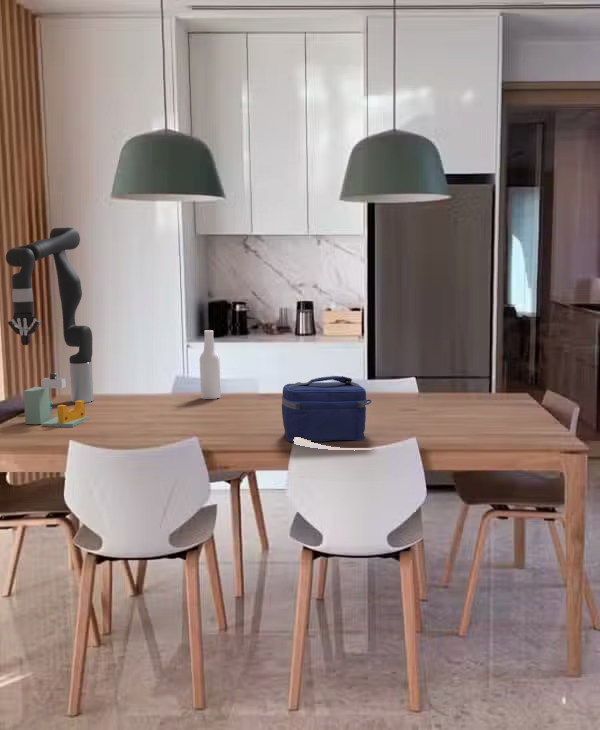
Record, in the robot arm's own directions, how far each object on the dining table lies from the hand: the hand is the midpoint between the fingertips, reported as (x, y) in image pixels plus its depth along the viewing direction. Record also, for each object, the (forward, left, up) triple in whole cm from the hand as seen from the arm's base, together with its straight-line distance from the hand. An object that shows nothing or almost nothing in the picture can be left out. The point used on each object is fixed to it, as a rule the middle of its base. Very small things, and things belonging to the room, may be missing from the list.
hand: (25, 344), depth 312 cm
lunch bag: (+24, +119, -29) cm, 125 cm away
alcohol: (-46, +62, -29) cm, 83 cm away
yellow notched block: (+8, +20, -28) cm, 35 cm away
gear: (-10, 0, -29) cm, 31 cm away
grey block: (+8, +14, -15) cm, 22 cm away
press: (+8, +14, -29) cm, 33 cm away
